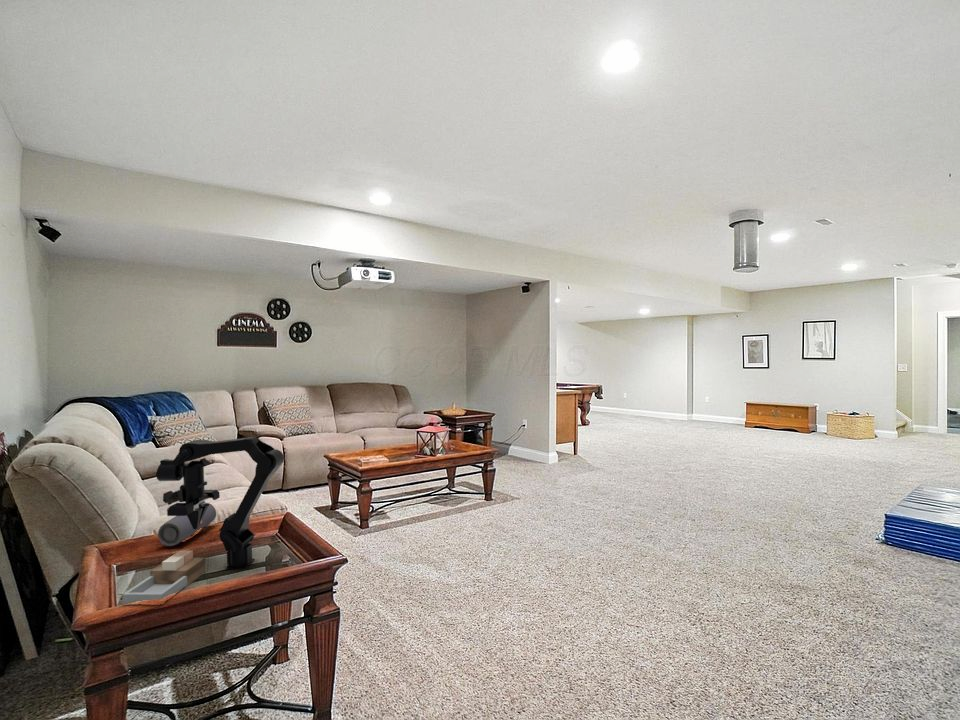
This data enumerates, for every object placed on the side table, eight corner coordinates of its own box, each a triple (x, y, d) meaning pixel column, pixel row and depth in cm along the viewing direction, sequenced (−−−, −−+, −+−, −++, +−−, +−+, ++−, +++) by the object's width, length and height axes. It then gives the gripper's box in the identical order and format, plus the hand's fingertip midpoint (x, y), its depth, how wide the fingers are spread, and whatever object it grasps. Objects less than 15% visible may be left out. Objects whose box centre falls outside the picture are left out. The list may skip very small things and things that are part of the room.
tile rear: (192, 558, 155) (192, 550, 155) (184, 564, 151) (184, 555, 151) (180, 558, 155) (180, 550, 155) (171, 564, 151) (171, 555, 151)
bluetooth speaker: (183, 549, 174) (182, 521, 174) (156, 550, 174) (155, 521, 174) (218, 526, 197) (217, 501, 196) (195, 526, 197) (194, 501, 197)
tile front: (184, 564, 151) (183, 556, 151) (175, 570, 147) (175, 562, 147) (171, 564, 151) (171, 556, 151) (162, 570, 147) (162, 562, 147)
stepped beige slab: (205, 572, 156) (204, 557, 155) (187, 585, 147) (186, 570, 146) (170, 572, 156) (170, 557, 156) (150, 585, 147) (150, 570, 147)
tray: (187, 585, 147) (187, 575, 146) (162, 605, 136) (161, 594, 136) (150, 585, 147) (150, 575, 147) (122, 605, 136) (122, 594, 136)
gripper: (187, 473, 169) (189, 519, 170) (148, 488, 151) (150, 540, 151) (219, 472, 169) (221, 518, 169) (185, 488, 150) (186, 540, 151)
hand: (195, 528), depth 160 cm, fingers closed
